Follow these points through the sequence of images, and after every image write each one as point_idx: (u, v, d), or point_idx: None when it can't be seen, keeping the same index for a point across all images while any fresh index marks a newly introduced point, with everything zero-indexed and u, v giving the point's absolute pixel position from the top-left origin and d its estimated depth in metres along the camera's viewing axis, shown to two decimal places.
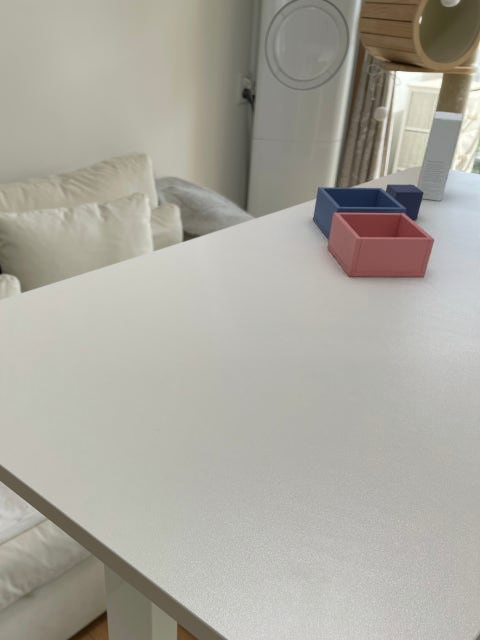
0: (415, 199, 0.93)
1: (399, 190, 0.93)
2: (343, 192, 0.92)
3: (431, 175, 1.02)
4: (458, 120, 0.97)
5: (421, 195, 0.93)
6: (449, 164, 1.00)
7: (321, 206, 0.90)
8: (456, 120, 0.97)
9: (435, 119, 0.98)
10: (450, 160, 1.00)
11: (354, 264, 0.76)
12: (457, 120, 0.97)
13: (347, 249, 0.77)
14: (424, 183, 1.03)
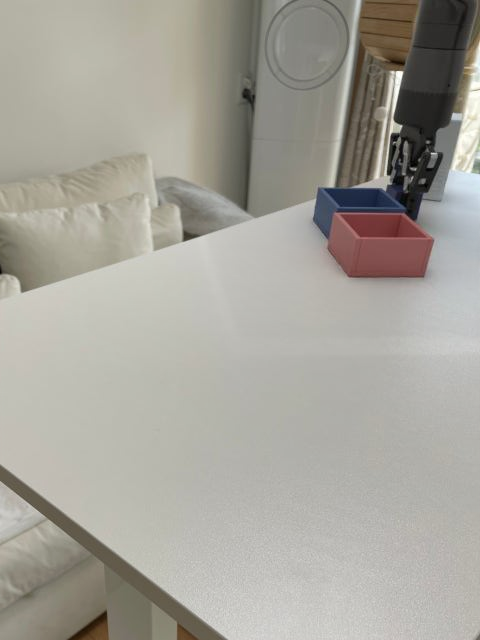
0: None
1: (399, 190, 0.93)
2: (343, 192, 0.92)
3: None
4: (458, 120, 0.97)
5: (421, 195, 0.93)
6: (449, 164, 1.00)
7: (321, 206, 0.90)
8: (456, 120, 0.97)
9: None
10: (450, 160, 1.00)
11: (354, 264, 0.76)
12: (457, 120, 0.97)
13: (347, 249, 0.77)
14: None
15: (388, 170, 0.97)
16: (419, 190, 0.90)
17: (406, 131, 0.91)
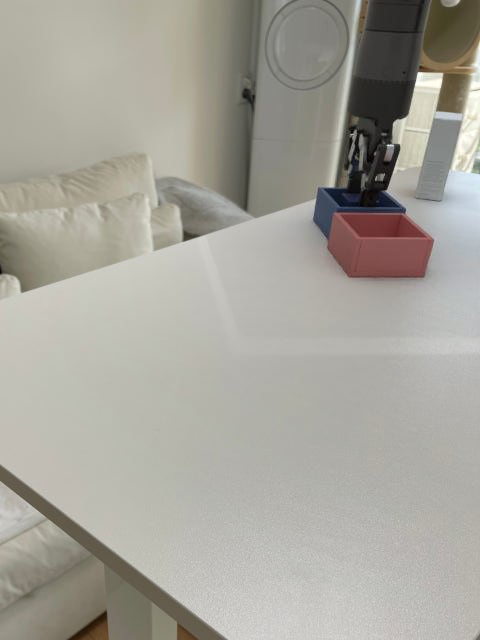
0: None
1: (353, 200, 0.87)
2: (343, 192, 0.92)
3: (431, 175, 1.02)
4: (458, 120, 0.97)
5: (376, 205, 0.87)
6: (449, 164, 1.00)
7: (321, 206, 0.90)
8: (456, 120, 0.97)
9: (435, 119, 0.98)
10: (450, 160, 1.00)
11: (354, 264, 0.76)
12: (457, 120, 0.97)
13: (347, 249, 0.77)
14: (424, 183, 1.03)
15: (345, 164, 0.90)
16: (377, 187, 0.82)
17: (362, 123, 0.84)
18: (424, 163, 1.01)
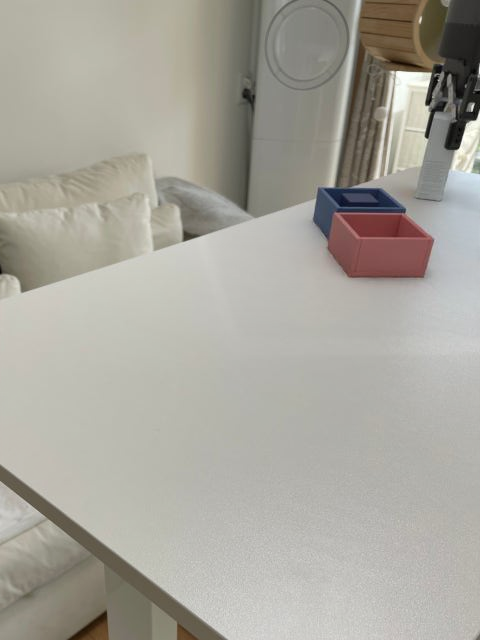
0: None
1: (353, 200, 0.87)
2: (343, 192, 0.92)
3: (431, 175, 1.02)
4: None
5: (376, 205, 0.87)
6: (449, 164, 1.00)
7: (321, 206, 0.90)
8: None
9: (435, 119, 0.98)
10: (450, 160, 1.00)
11: (354, 264, 0.76)
12: None
13: (347, 249, 0.77)
14: (424, 183, 1.03)
15: (427, 101, 1.03)
16: (468, 117, 0.93)
17: (449, 66, 0.97)
18: (424, 163, 1.01)
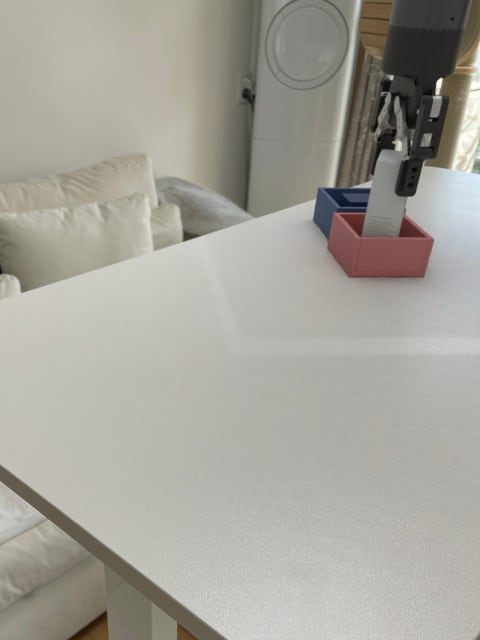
0: None
1: (353, 200, 0.87)
2: (343, 192, 0.92)
3: (376, 235, 0.76)
4: None
5: None
6: (399, 221, 0.75)
7: (321, 206, 0.90)
8: None
9: (378, 162, 0.72)
10: (400, 216, 0.74)
11: (354, 264, 0.76)
12: None
13: (347, 249, 0.77)
14: None
15: (372, 126, 0.78)
16: (424, 155, 0.67)
17: (397, 85, 0.71)
18: (366, 219, 0.76)
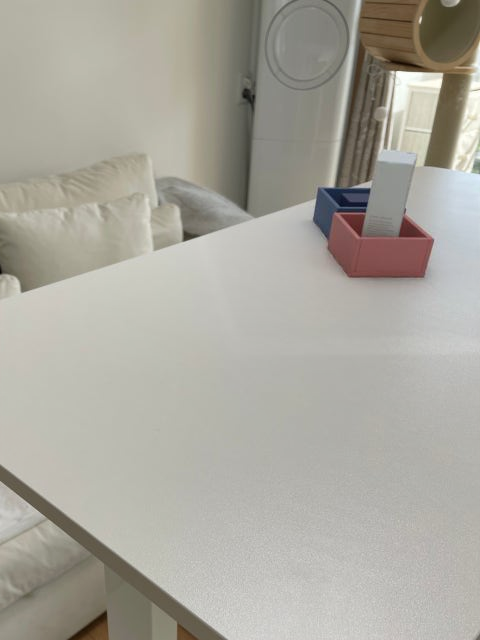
0: None
1: (353, 200, 0.87)
2: (343, 192, 0.92)
3: (376, 235, 0.76)
4: (409, 164, 0.71)
5: None
6: (399, 221, 0.75)
7: (321, 206, 0.90)
8: (406, 164, 0.71)
9: (378, 162, 0.72)
10: (400, 216, 0.74)
11: (354, 264, 0.76)
12: (407, 164, 0.71)
13: (347, 249, 0.77)
14: None
15: None
16: None
17: None
18: (366, 219, 0.76)
